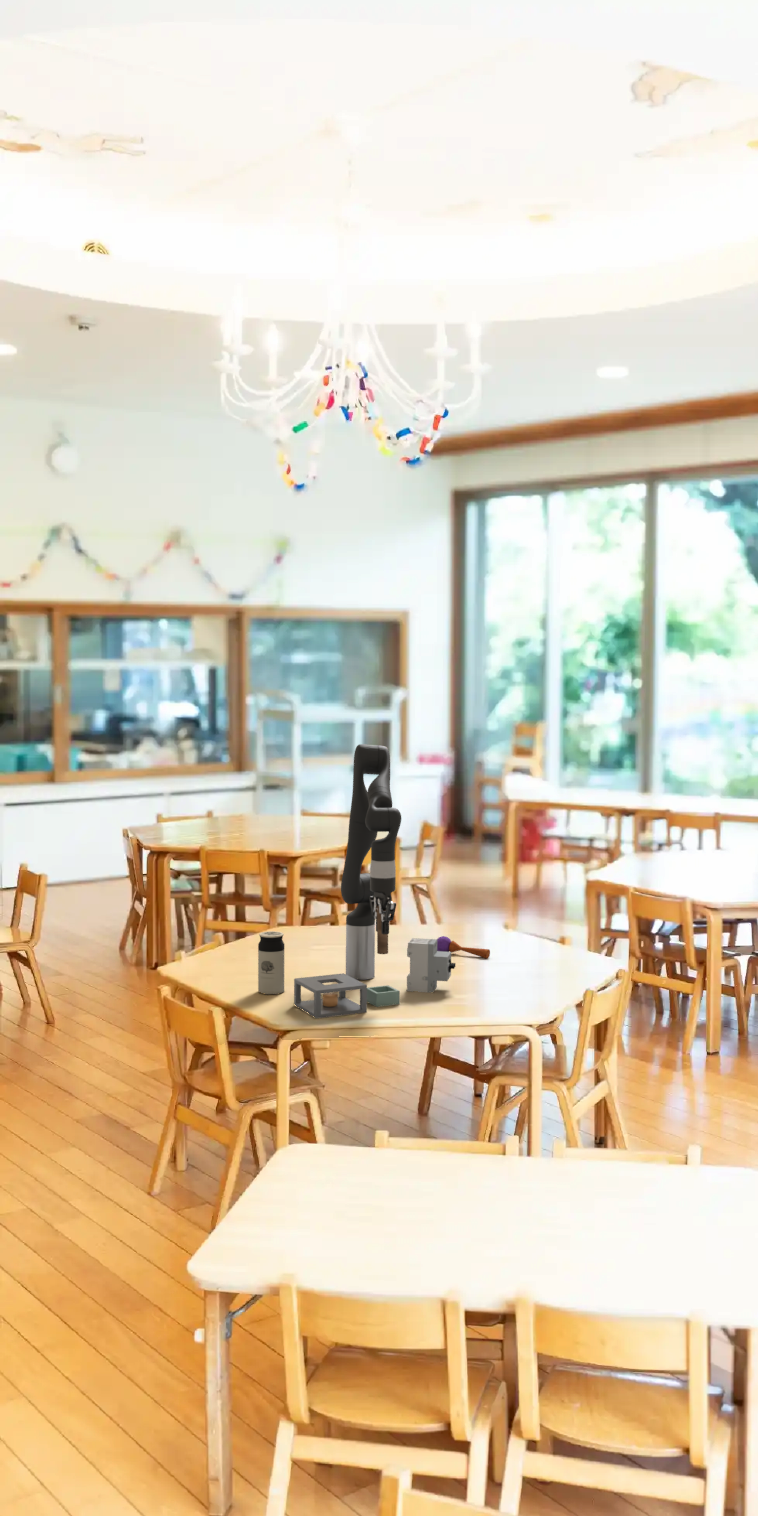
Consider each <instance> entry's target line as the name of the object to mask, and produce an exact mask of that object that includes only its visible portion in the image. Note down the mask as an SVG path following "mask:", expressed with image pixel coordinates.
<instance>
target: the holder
mask: <svg viewBox="0 0 758 1516" xmlns="http://www.w3.org/2000/svg"><path fill="white" fill-rule="evenodd" d="M400 994H401V993H400V990H399V989H397V988H395V987H393V986H390V985H388V984H387V985H379V986H378V985H377V986H369V987H368V986H367V1004H370V1005H372V1006H373V1007H375V1008H379V1007H386V1006H389V1007H390V1006H395V1005H400V1002H401V1001H400V1000H401V999H400V998H401V997H400V996H401V995H400Z"/></svg>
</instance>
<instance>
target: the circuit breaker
mask: <svg viewBox="0 0 758 1516" xmlns="http://www.w3.org/2000/svg"><path fill="white" fill-rule="evenodd" d="M437 939H438V938H436V939H435V938H414V937H412V938H411V939H410V940H409V941H408V942H407V949H406V957H408V958H409V973H408V975H406V992H413V991H418V992H419V993H431V992H433V993H434V992H435V990H436V988H437V986H438V982H448V981H449V979H450V978H451V976H452V970H454V969H455V968H456V962H452V953H451V952H450V951H449V952H443V951H437ZM418 992H417V993H418Z"/></svg>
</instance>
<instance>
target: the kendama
mask: <svg viewBox="0 0 758 1516" xmlns="http://www.w3.org/2000/svg"><path fill="white" fill-rule="evenodd" d="M436 939H437V951H443V952H451V954H452V953H455V952H460V951H462V952H465V953H468V954H471V955H474V956H477V957H480V958H483V959H486V960H487V959H490V955H491V950H490V949H488V948H478V947H477V948H475V947H467V946H466V947H464V946H461V945H460V944H458V943H457V942H455V941H454V940H451V938H449V937H447V936H444V935H443V936H442V935H441V936H440V937H439V936H438V938H436Z"/></svg>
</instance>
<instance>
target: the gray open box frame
mask: <svg viewBox="0 0 758 1516" xmlns="http://www.w3.org/2000/svg"><path fill="white" fill-rule="evenodd" d="M328 983H332V984H328ZM302 987H303V988H304V989H306V990H308V991H310V992H311V993H313V999H308V1000H302ZM367 988H368V984H366V983H364V982H362V981H360V980H356V979H354V978H352V977H350V976H348V975H346V973H345V972H344V973H342V972H341V973H334V974H325V975H323V974H322V975H315V976H306V977H295V978H294V979H293V992H294V994H293V1001H294V1002H293V1005H294V1004H295V1005H296V1006H297V1007H296V1006H295V1007H296V1008H298V1007H299V1008H301V1009H303V1010H304V1011H306V1012H308V1013H309V1014H310V1015H309V1014H308V1013H307V1014H308V1015H309V1016H311V1015H312V1016H311V1017H313V1016H314V1017H315V1019H323V1018H331V1017H339V1016H347V1015H348V1016H349V1015H356V1014H355V1013H357V1014H364V1013H367V1012H368V1002H367ZM355 990H359V1003H357V1002H355V1001H354V1000H351V999H349V998H348V997H346V996H347V995H346V994H347V993H346V992H348V991H355ZM337 992H338V1005H337V1006H333V1007H327V1006H323V998H322V995H323V994H324V993H337ZM299 1008H298V1009H299ZM301 1009H300V1010H301ZM303 1010H302V1011H303ZM304 1011H303V1012H304ZM306 1012H305V1013H306ZM314 1017H313V1018H314Z"/></svg>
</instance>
